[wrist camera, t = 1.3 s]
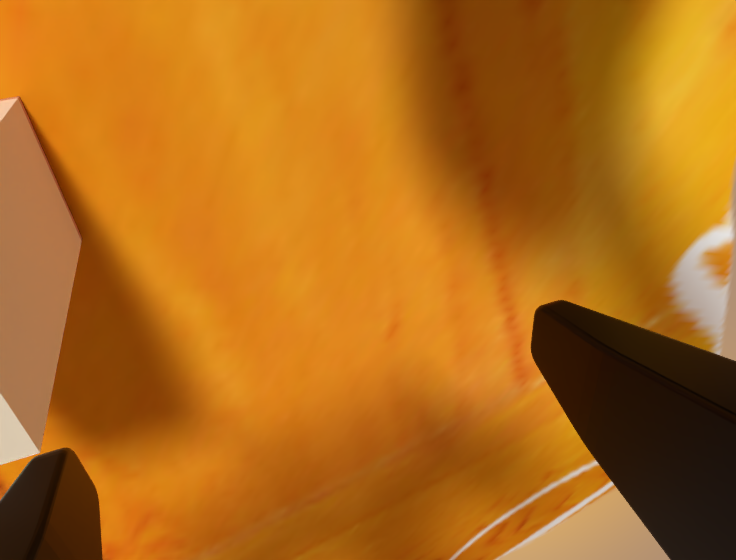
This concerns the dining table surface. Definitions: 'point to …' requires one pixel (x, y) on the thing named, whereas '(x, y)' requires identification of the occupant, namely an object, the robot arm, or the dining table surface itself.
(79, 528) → the robot arm
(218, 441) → the dining table surface
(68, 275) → the cream block
